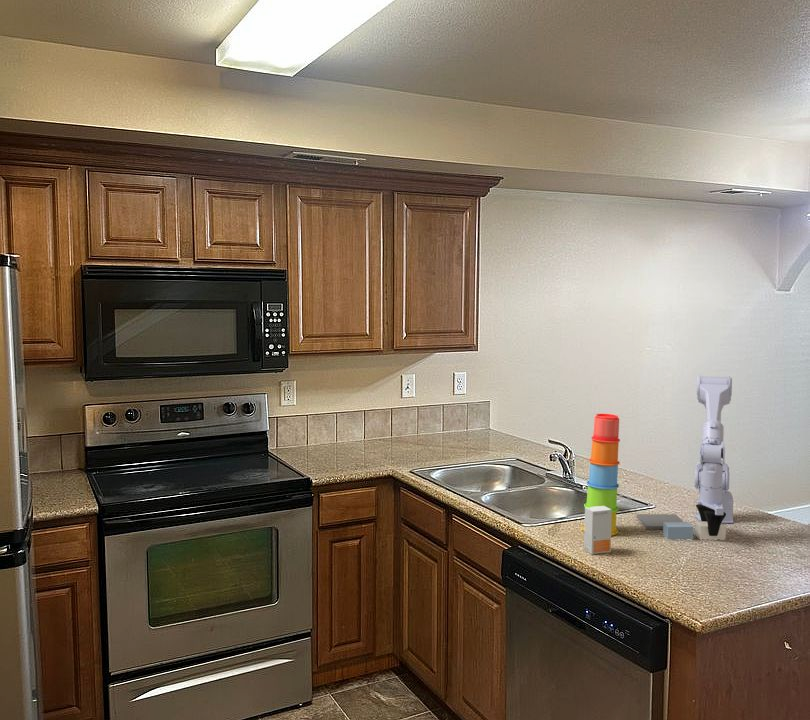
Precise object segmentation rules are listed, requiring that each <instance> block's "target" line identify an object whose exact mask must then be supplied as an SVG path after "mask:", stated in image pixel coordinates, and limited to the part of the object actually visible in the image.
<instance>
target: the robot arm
mask: <svg viewBox="0 0 810 720" xmlns="http://www.w3.org/2000/svg"><path fill="white" fill-rule="evenodd" d="M732 390H733V378H731V376H728V377H727V376H702V375H698V376H697V378H696V395H697V397H696V398H697V400H698V403H699V404H702V405H704V408H705V413H706V418H705V419H706V420H705V422H704V423H703V424H702V427H701V428H702V429H701V445H700V446H699V461H697V462H696V464H695V468H694V469H695V470H694V487H695V489H696V490H698V499H696V500H695V508H696V510H697V511H698V513H694V514H693V516H694V517H695V518H697V521H705V522H707V524H708V532H709V535H710V536H717V535H718V532H719V528H720V525H721V523H722V524H733V523H734V520H733V518H734V498H733V494H732V492H731V491H729V489H730V466H729V465H728V464H727V463H726V461H725V459H726V458H725V455H726V454H725V453H726V448H725V447H726V446H725V442H724V435H725V433H724V428H725V427H724V425H723V424H722V423H721V422H722V421H721V420H722V411H723V408H724V406H726V405H729V404H730V403H731V402H732V395H733V394H732V393H733V391H732Z"/></svg>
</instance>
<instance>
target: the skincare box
mask: <svg viewBox="0 0 810 720" xmlns="http://www.w3.org/2000/svg"><path fill="white" fill-rule="evenodd" d="M611 519H612V510H611V509H609V508H607V507H605V506H594V507H587V508H585V507H584V525H585V529H584V531H583V532H584V536H583V538H584V539H583V550H584V551H585V550H586V551H585V552H587V553H589V554H590V555H595V554H596V555H598V554H606V553H609V552H610V553H611V551H612V550H611V549H612V546H611V545H612V536H611ZM610 553H609V554H610Z"/></svg>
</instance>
